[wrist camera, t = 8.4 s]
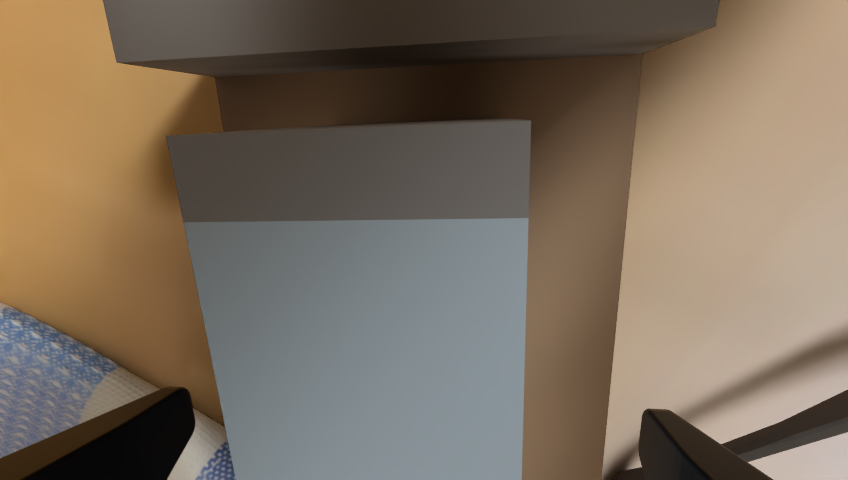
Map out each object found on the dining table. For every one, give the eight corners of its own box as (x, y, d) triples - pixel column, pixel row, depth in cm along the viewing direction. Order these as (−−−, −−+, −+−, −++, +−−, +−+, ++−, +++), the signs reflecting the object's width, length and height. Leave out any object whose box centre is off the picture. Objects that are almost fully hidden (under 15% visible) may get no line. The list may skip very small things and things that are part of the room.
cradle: (631, 3, 10) (728, -67, 6) (585, 529, 14) (624, 681, 10) (229, 31, 11) (100, -13, 7) (300, 506, 16) (242, 633, 12)
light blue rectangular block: (501, 117, 10) (531, 120, 4) (498, 491, 13) (513, 787, 7) (336, 124, 10) (165, 135, 5) (370, 483, 14) (291, 751, 8)
